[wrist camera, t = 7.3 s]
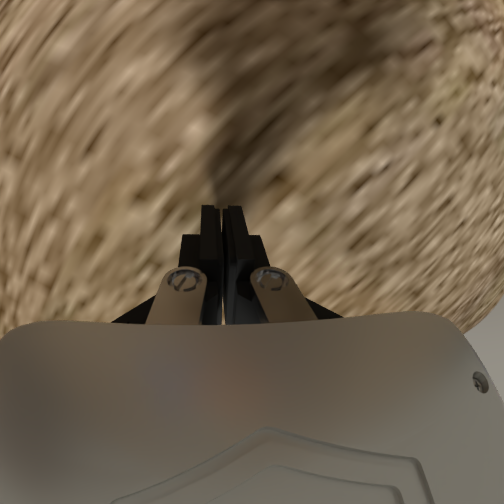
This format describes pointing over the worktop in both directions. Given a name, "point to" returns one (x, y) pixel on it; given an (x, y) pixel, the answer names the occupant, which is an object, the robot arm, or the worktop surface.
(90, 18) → the worktop surface
